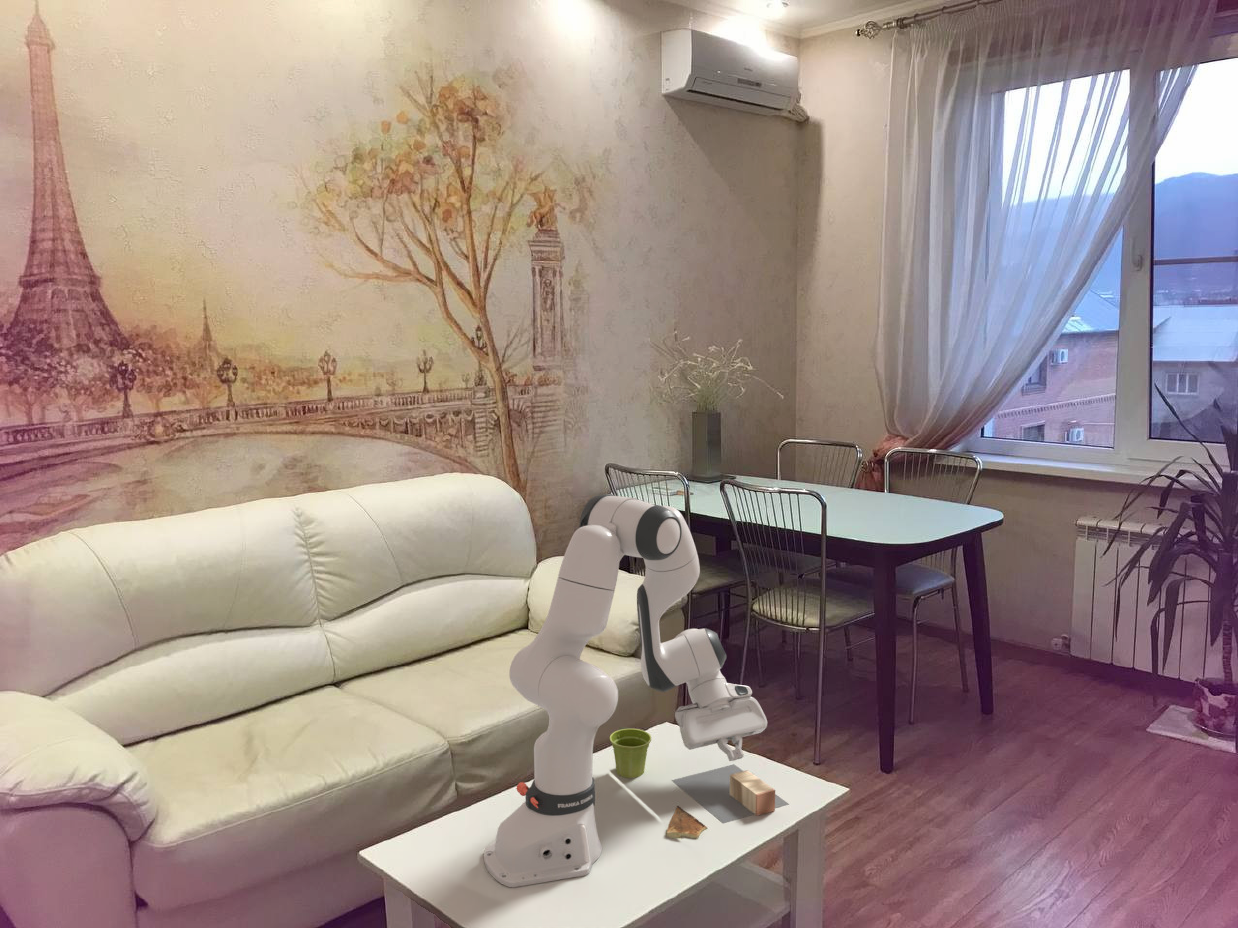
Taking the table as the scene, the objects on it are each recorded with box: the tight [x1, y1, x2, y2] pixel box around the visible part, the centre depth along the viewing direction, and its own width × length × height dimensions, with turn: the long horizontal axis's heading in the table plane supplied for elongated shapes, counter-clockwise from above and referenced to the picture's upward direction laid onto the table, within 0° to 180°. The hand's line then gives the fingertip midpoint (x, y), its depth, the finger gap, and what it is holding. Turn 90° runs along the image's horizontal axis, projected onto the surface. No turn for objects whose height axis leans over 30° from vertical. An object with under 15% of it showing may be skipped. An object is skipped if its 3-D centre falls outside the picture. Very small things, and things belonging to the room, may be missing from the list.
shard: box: [666, 805, 708, 840], centre depth 190 cm, size 11×8×2 cm
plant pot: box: [609, 728, 652, 779], centre depth 212 cm, size 9×9×9 cm
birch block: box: [730, 770, 776, 816], centre depth 198 cm, size 4×4×10 cm
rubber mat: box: [671, 764, 790, 824], centre depth 203 cm, size 16×20×1 cm
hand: (737, 758), depth 202 cm, fingers closed
